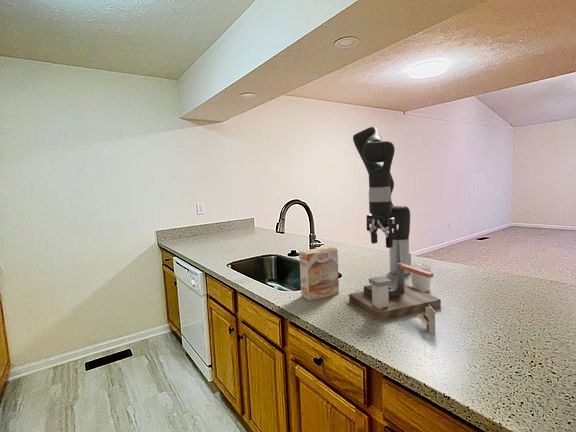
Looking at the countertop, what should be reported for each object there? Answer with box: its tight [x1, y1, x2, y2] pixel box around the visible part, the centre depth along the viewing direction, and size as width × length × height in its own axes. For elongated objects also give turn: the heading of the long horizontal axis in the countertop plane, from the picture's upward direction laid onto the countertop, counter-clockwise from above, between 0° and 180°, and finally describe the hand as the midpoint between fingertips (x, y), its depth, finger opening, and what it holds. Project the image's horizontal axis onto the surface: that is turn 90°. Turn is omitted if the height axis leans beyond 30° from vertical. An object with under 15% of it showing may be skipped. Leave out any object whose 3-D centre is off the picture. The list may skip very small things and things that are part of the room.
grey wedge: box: [416, 305, 436, 335], centre depth 103 cm, size 3×7×7 cm, turn 174°
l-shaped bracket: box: [396, 263, 434, 292], centre depth 121 cm, size 17×3×11 cm, turn 21°
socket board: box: [348, 283, 442, 322], centre depth 124 cm, size 26×20×6 cm
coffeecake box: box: [298, 245, 340, 302], centre depth 137 cm, size 15×7×20 cm, turn 117°
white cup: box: [410, 263, 432, 293], centre depth 137 cm, size 8×8×10 cm
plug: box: [368, 276, 392, 308], centre depth 115 cm, size 5×5×10 cm
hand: (381, 245), depth 116 cm, fingers open, 8 cm apart
